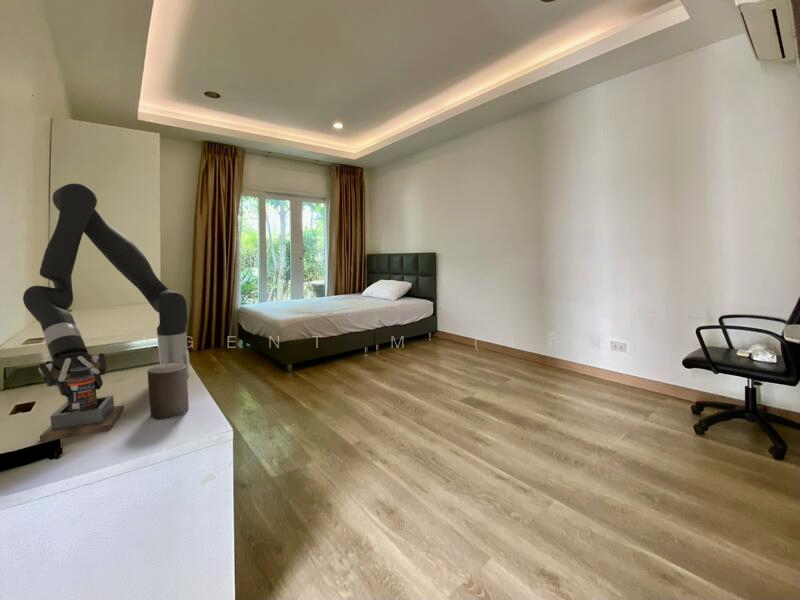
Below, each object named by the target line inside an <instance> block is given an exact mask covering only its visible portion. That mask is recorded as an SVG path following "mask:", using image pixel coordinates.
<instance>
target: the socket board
mask: <svg viewBox="0 0 800 600" xmlns="http://www.w3.org/2000/svg"><path fill="white" fill-rule="evenodd" d="M124 411H125V405H116V406H115V405H114V410H113V411H112V412H111V414H110V415H109V416H108V418H107V419H106V420H105V422H104V423H101V424H95V425H89V426H82V427H76V428H70V429H64V430H57V431H52V426H51V425H50V426H49V427H47V428H46V429H45V430H44V431H43V432H42V433H41V434H40V435H39V442H46V441H53V440H59V439H65V438H70V437H76V436H82V435H88V434H95V433H101V432H105V431H106V432H107V431H111V430H112V428H113V427H114V425H115V424H116V422H117V421H118V419H119V418H120V417H121V415H122V414H123V412H124Z"/></svg>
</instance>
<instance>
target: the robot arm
mask: <svg viewBox="0 0 800 600" xmlns="http://www.w3.org/2000/svg"><path fill="white" fill-rule="evenodd" d="M52 202H53V205H54V206H55V208H56V209H57V211H59V214H58V219H57V223H56V226H55V229H54V232H53V234H52V236H51V238H50V240H49V242H48V244H47V246H46V248H45V251H44V254H43V257H42V261H41V264H40V265H41V266H40V268H39V275H40V277H42V278H44V279H46V280H49V281H51V282H52V283H53V286H54V287H50V286H45V285H33V286H30V287H28V288H27V289H25V291H24V293H23V297H22V301H23V304H24V306H25V308H26V310H27V311H28V312H29V313H30V314H31V315H32V316H33V318H35V320H36V321H37V322H38V323H39V324H40V327H41V329H42V333H43V336H44V340H45V346H46V347H47V350H48V353H49V355H50V359H51V361H52V362H50V363H47V364H46V363H40V364H39V365H38V373H39V374H40V376H41V378H42V380H43V381H44V382H45V384H46V386H47V387H53V386H57V387H58V388H57V389H58V391H59V393H60V395H61V397H63V396H64V397H65V398H67V397H68V396H69V395H70V391H69V388H68V386H67V383H66V379H67V378H66V377H67V375H70V370H71V369H74V368H78V367H89V369H90V372H89V373H90V374H92V375H94V376H95V384H96V391H97V390H100V389H101V388H102V386H103V383H104V382H103V379H102V376H105V374H106V371H107V368H108V367H107V364H106V358H105V354H104V353H99V354H98V355H92V354H90V353H89V351H88V348H87V347H86V344H85V341H84V339H83V336H82V333H81V332H80V329H79V328H78V326H77V324H76V321H75V320H74V317H73V315H72V313H71V312H69V311H68V310H69V308H71V306H72V305H73V302H74V293H73V280H72V278H73V277H72V276H73V273H74V272H73V270H74V267H75V264H76V261H77V256H78V251H79V248H80V244H81V241H82V238H83V234H85V235H86V236H87V238H88V239H89V240H90V241H91V242H92V243H93V244H94V246H95V247H96V248H97V249H98V250H99V251H100V252H101V254H102V255H104V257H105V258H106V259H107V261H109V262H110V263H111V265H113V267H114V268H115V269H116V270H117V271H119V272H120V274H121V275H123V276H124V278H125V279H127V280H128V281H129V282H130V283H131V284H132V285H133V286H134V287H136V288H137V289H138V291H139V292H140V293H141V294H142V295H143V296H144V298H145V299H146V300H147V302H148V303H149V305H150V306H151V307H152V308H153V309H154V311H155V312H156V313H158V317H159V324H158V326H157V328H156V335H157V346H158V347H157V348H158V358H159V365H163V364H166V363H167V364H170V363H180V364H185V365H186V366H187V367H186V369H187V378H189V377H190V374H191V369H190V351H189V349H188V341H187V340H188V339H187V326H188V306H187V299H186V297H185V296H184V295H183V294H182V293H180V292H178V291H173V290H171V289H170V288H168V287H167V286H166V285H165V284H164V283H163V282H162V281H161V280H160V278H158V276H157V274H155V272H154V269H153V268H152V265H151V264H150V262H149V260H148V259H147V257H146V256H145V255H144V253H143V252H142V251H141V250H140V249H139V248H138V247H137V245H136V244H135V243H134V242H133V241H132V240H131V239H129V238H128V237H127V236H126V235H124V234H123V233H121V232H120V231H119V230H117V229H116V228H114V227H113V226H112V225H110V224H109V223H108V222H107V221H106V220H105V219H104V218H103V217H102V215H101V214H100V213H99V212H98V210H97V209H96V207H97V205H98V197H97V195H96V194H95V192H94V191H93V189H91V188H90V187H88V186H87V185H85V184H81V183H77V182H75V183H68V184H64V185H62V186H61V187H59V188H57V189H56V190H55V191H54V192H53V194H52ZM92 361H93V362H94V363H95V364H97V367H98V369H97V368H96V367H95V366H94V365H93V364H92V363H91V362H92ZM52 369H54V370H56V371H58V372H60V374H59V377H58V378H55V377H54V375H52V373H51V371H52Z"/></svg>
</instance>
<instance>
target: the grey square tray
mask: <svg viewBox="0 0 800 600" xmlns="http://www.w3.org/2000/svg"><path fill="white" fill-rule="evenodd" d="M114 406H115V401H114V395H106V396H100V397H99V396H98V397H97V406H96V407H94V408H92V409H88V410H81V411H74V412H70V411H69V409H68V401H66V402H65V403H64V404H62V406H60V407H59V408H58V409H57V410H56V411H54V413H52V414H51V415H50V426H52V431H57V430H64V429H70V428H76V427H82V426H89V425H95V424H101V423H104V422H105V420H106V419H107V418H108V416H109V415H110V414H111V412H112V411H113V410H114Z"/></svg>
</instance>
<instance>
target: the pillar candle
mask: <svg viewBox="0 0 800 600" xmlns="http://www.w3.org/2000/svg"><path fill="white" fill-rule="evenodd" d="M186 367H187V366H186V365H185V364H180V363H170V364H167V363H166V364H163V365H160V364H159V365H155V366H152V367H150V368H148V370H147V384H148V396H149V409H150V410H149V411H150V418H152V419H154V420H166V418H168V419H171V417H173V418H176V417H175V416H177V417H179V416H178V415H180V414H182V413H184V412H186V411H187V410H188V409H189V410H190V406H189V404H190V403H189V387H188V377H187V369H186ZM189 410H188V411H189ZM188 411H187V412H188ZM187 412H186V413H187ZM184 414H185V413H184ZM182 415H183V414H182ZM180 416H181V415H180Z"/></svg>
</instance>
